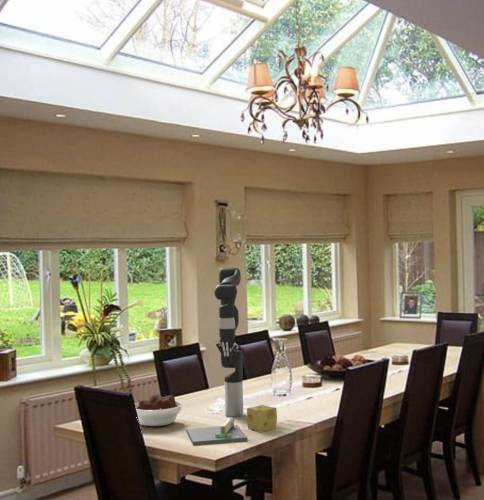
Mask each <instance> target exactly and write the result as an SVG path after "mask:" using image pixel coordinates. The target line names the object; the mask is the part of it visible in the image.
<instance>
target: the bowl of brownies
mask: <svg viewBox="0 0 484 500" xmlns="http://www.w3.org/2000/svg"><path fill="white" fill-rule="evenodd" d="M134 404H135V406H136V410H137V414H138V418H139V421H140V423H139V424H141V425H142V426H147V427H148V426H150V427H162V426H167V425H171V424H173V423H174V422H176V419H177V417H178V415H179V414H180V412H181V411H182V408H183V404H182V402H181V401H177V400H176V399H175V396H174V395H165V396H161V394H159V393H154V394H152V395H151V396H150V397H149V398H148V399H142V400H139V401H138V402H136V403H134ZM139 421H138V422H139Z"/></svg>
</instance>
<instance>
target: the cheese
mask: <svg viewBox="0 0 484 500" xmlns="http://www.w3.org/2000/svg"><path fill="white" fill-rule="evenodd" d="M277 421H278V411H277V407H276V406H268V405H264V404H262V405H256V406H251V407H247V408H246V424H247V425H246V426H247V429H248V430H253V431H255V432H257V433H263V432H267V431H271V430H276V429H277V423H278V422H277Z"/></svg>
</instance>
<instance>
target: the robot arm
mask: <svg viewBox="0 0 484 500" xmlns="http://www.w3.org/2000/svg"><path fill="white" fill-rule="evenodd" d="M241 276H242V275H241V270H240V269H239V268H237V267H221V268H219V271H218V281H219V284H217V285H216V286H215V288H214V297H215V299H217V300H218V301H220V305H219V308H218V311H219V312H218V314H219V315H218V316H219V317H218V334H219V342H218V343H216V344H215V346H216V347H217V349H218V350H219V353H220V365H221V367H222V368H224V369H234V371H233V372H232V373H228V374H226V375H224V402H225V403H224V404H225V405H224V409H225V410H224V411H225V412H224V413H225V416H226V417H228V418H236V417H237V418H238V417H242V416H244V387H243V386H244V385H243V384H244V383H243V381H244V380H243V377H244V375H243V373H244V372H243V366H244V365H243V363H244V354H243V352H242V350H240V344H237V343H236V339H235V338H236V330H237V329H238V327H239V324H240V322H239V318H240V317H239V310H238V308H237V305H235V304H236V300H237V295H238V288H237V286H239V285H240V283H241V281H242V277H241Z"/></svg>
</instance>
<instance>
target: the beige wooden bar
mask: <svg viewBox="0 0 484 500" xmlns="http://www.w3.org/2000/svg"><path fill="white" fill-rule="evenodd" d="M234 425H235V417H226V420H225V421H224V422H223V424H222V425H221V434H226V433H227V431H228V430H229V429H230V428H233V427H234Z"/></svg>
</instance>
